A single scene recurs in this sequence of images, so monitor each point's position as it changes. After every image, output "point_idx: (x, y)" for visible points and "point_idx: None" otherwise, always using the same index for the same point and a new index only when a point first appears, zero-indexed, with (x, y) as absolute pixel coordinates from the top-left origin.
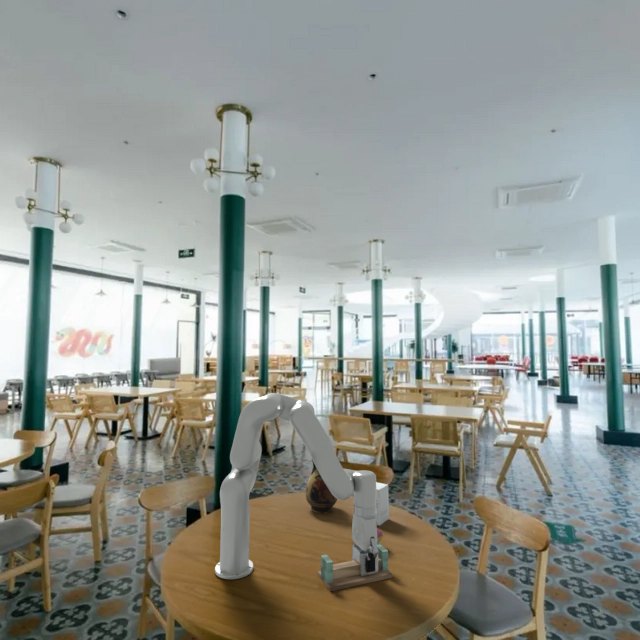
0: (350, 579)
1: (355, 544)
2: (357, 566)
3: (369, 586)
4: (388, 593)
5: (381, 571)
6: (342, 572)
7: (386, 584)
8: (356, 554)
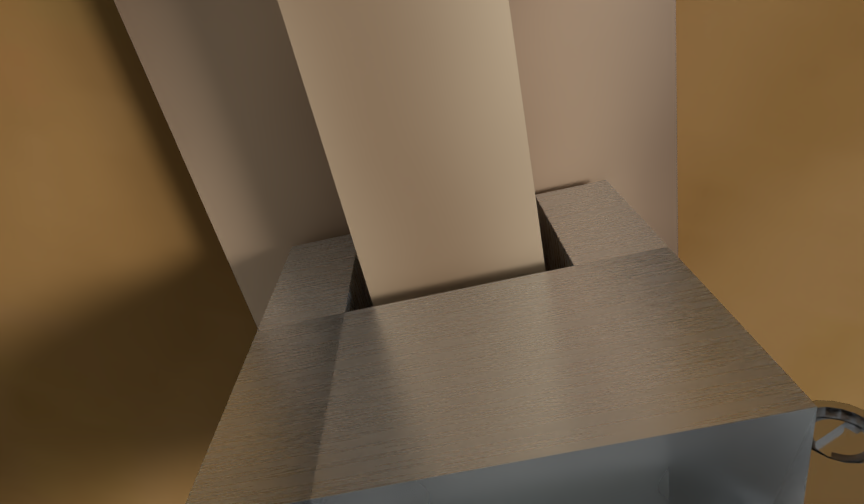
0: (233, 57)
1: (861, 471)
2: (362, 254)
3: (183, 279)
4: (56, 421)
5: None
6: None
7: None
8: (491, 364)
